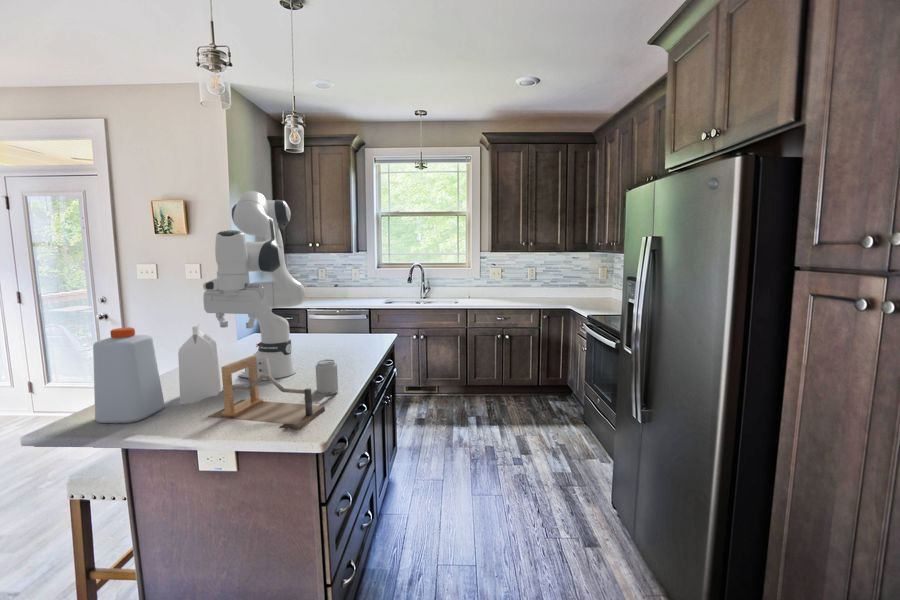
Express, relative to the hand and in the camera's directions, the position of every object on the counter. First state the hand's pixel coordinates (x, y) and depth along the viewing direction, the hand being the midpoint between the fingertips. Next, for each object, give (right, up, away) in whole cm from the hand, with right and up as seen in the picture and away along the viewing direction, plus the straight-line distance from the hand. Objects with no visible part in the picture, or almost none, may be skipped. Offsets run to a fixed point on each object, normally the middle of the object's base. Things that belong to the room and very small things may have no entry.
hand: (237, 327), depth 133 cm
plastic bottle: (-36, -28, +4) cm, 46 cm away
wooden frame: (0, -26, +3) cm, 26 cm away
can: (+22, -25, +22) cm, 40 cm away
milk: (-23, -26, +20) cm, 40 cm away
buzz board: (+9, -28, +1) cm, 29 cm away
